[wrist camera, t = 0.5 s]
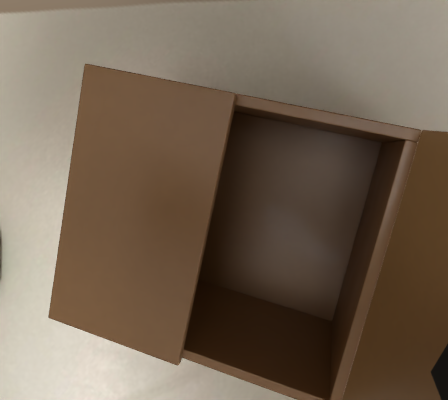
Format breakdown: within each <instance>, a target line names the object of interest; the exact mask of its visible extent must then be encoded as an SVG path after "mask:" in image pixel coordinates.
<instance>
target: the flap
mask: <svg viewBox="0 0 448 400" xmlns="http://www.w3.org/2000/svg"><path fill="white" fill-rule="evenodd" d="M447 344H448V132H441V131H429V130H422V132H421V135H420V139H419V142H418V145H417V149H416V152H415V155H414V159H413V162H412V165H411V169H410V172H409V176H408V179H407V182H406V186H405V189H404V192H403V196H402V199H401V202H400V206H399V209H398V213H397V216H396V219H395V223H394V226H393V229H392V233H391V236H390V239H389V243H388V246H387V250H386V253H385V256H384V260H383V263H382V266H381V270H380V273H379V277H378V280H377V283H376V287H375V290H374V293H373V297H372V300H371V303H370V307H369V310H368V314H367V317H366V320H365V324H364V327H363V330H362V334H361V337H360V340H359V344H358V347H357V351H356V354H355V357H354V361H353V364H352V367H351V371H350V374H349V378H348V381H347V384H346V388H345V391H344V394H343V398H342V400H441V398H440V395H439V393H438V390H437V388H436V385H435V382H434V380H433V377H432V375H431V370H432V369H433V367H434V365H435V364H436V362H437V360H438V359H439V357H440V355H441V354H442V352H443V351H444V349H445V347H446V346H447Z"/></svg>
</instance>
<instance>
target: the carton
mask: <svg viewBox="0 0 448 400" xmlns="http://www.w3.org/2000/svg"><path fill="white" fill-rule="evenodd" d="M420 135H421V130H419V129H414V128H408V127H403V126H398V125H393V124H388V123H383V122H378V121H373V120H368V119H363V118H358V117H353V116H348V115H342V114H337V113H332V112H327V111H322V110H317V109H312V108H307V107H302V106H297V105H292V104H287V103H282V102H276V101H271V100H266V99H261V98H256V97H251V96H246V95H241V94H236V93H232V92H227V91H222V90H217V89H212V88H207V87H202V86H197V85H192V84H186V83H181V82H176V81H171V80H166V79H161V78H156V77H151V76H146V75H141V74H136V73H131V72H126V71H120V70H115V69H110V68H105V67H100V66H95V65H90V64H85V66H84V73H83V80H82V87H81V94H80V101H79V108H78V115H77V122H76V129H75V136H74V143H73V150H72V157H71V164H70V171H69V178H68V185H67V192H66V199H65V206H64V213H63V220H62V227H61V234H60V241H59V247H58V254H57V261H56V268H55V275H54V282H53V289H52V296H51V303H50V310H49V318H51V319H54V320H56V321H59V322H62V323H64V324H67V325H70V326H73V327H75V328H78V329H81V330H83V331H86V332H89V333H91V334H94V335H97V336H99V337H102V338H105V339H108V340H110V341H113V342H116V343H118V344H121V345H124V346H126V347H129V348H132V349H135V350H137V351H140V352H143V353H145V354H148V355H151V356H153V357H156V358H159V359H161V360H164V361H167V362H170V363H172V364H175V365H179V363H180V362H181V358H185V359H187V360H190V361H193V362H196V363H198V364H201V365H204V366H207V367H209V368H212V369H215V370H218V371H220V372H223V373H226V374H228V375H231V376H234V377H237V378H239V379H242V380H245V381H248V382H250V383H253V384H256V385H259V386H261V387H264V388H267V389H270V390H272V391H275V392H278V393H281V394H283V395H286V396H289V397H292V398H294V399H297V400H342V397H343V394H344V391H345V387H346V384H347V380H348V377H349V374H350V370H351V367H352V364H353V360H354V357H355V354H356V350H357V347H358V343H359V340H360V337H361V333H362V330H363V327H364V323H365V320H366V317H367V313H368V310H369V306H370V303H371V300H372V296H373V293H374V290H375V286H376V283H377V279H378V276H379V273H380V269H381V266H382V263H383V259H384V256H385V253H386V249H387V246H388V242H389V239H390V236H391V232H392V229H393V226H394V222H395V219H396V216H397V212H398V209H399V205H400V202H401V199H402V195H403V192H404V189H405V185H406V182H407V178H408V175H409V172H410V168H411V165H412V162H413V158H414V155H415V152H416V148H417V145H418V143H417V142H418V141H419V138H420Z"/></svg>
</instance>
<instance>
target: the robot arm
mask: <svg viewBox="0 0 448 400" xmlns="http://www.w3.org/2000/svg"><path fill="white" fill-rule="evenodd" d="M431 375H432V377H433V380H434V382H435V385H436V388H437V390H438V393H439V395H440V398H441V400H448V344H447V346H446V347H445V349H444V351H443V352H442V354H441V355H440V357H439V359H438V360H437V362H436V364H435V365H434V367H433V369H432V370H431Z"/></svg>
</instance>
